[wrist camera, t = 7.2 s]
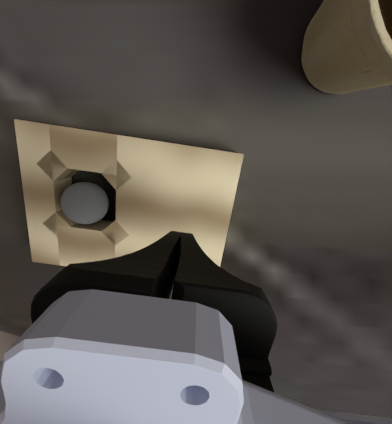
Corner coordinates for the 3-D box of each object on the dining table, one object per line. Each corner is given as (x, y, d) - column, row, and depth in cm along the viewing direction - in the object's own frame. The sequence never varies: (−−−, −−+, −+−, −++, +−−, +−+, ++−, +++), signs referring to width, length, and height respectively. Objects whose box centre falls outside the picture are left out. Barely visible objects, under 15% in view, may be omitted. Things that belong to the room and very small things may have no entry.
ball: (112, 210, 20) (109, 231, 17) (71, 212, 19) (59, 233, 16) (108, 175, 18) (104, 191, 15) (63, 175, 17) (48, 192, 14)
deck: (214, 270, 21) (215, 286, 19) (50, 248, 20) (32, 261, 18) (237, 153, 17) (243, 154, 15) (39, 122, 17) (13, 119, 14)
